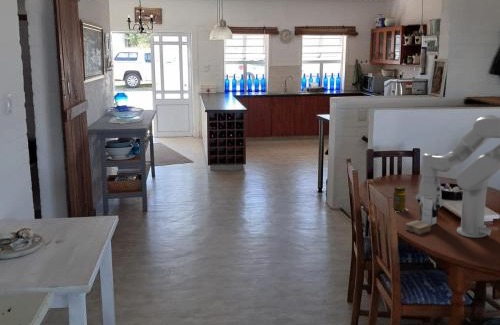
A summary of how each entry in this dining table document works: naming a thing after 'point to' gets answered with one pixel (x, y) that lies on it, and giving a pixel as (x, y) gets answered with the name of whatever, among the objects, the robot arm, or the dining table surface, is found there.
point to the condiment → (399, 199)
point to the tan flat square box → (418, 227)
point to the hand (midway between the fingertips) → (428, 214)
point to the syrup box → (427, 210)
